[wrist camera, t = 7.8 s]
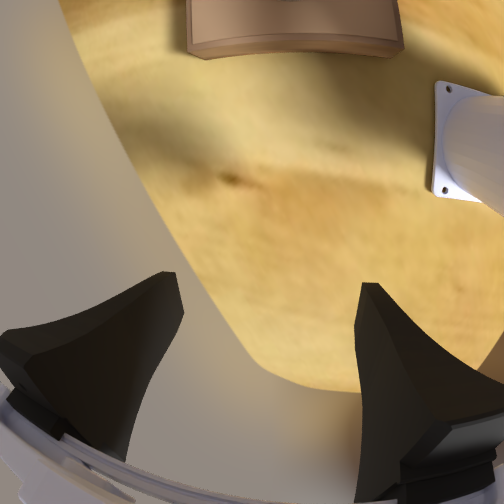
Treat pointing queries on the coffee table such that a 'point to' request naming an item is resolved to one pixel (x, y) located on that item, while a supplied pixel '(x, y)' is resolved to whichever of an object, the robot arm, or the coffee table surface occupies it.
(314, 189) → the coffee table surface
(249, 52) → the brown rectangular block
